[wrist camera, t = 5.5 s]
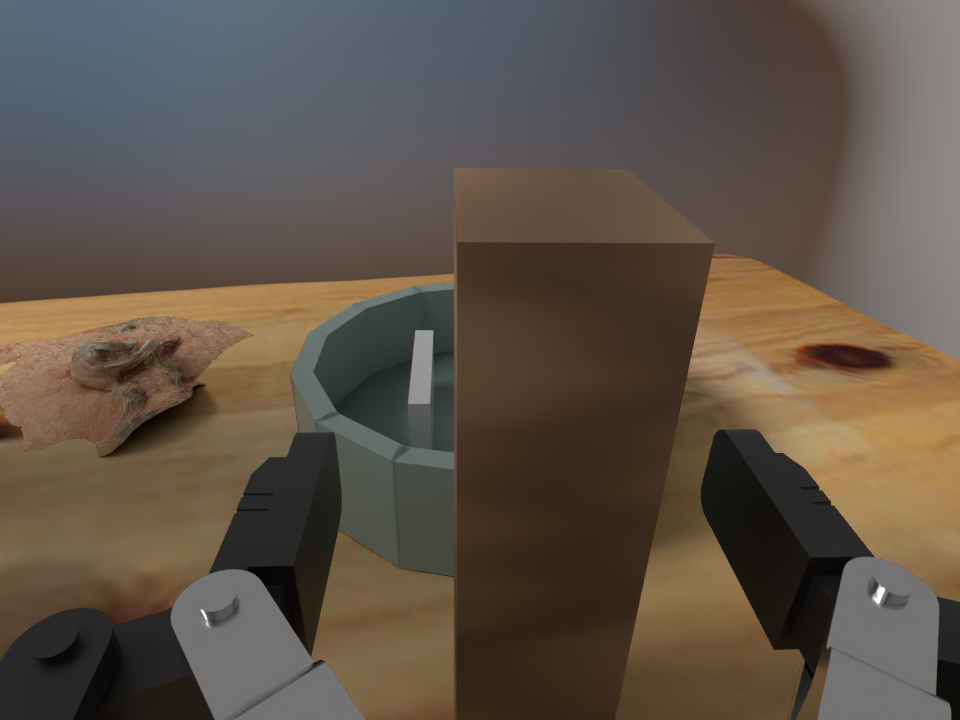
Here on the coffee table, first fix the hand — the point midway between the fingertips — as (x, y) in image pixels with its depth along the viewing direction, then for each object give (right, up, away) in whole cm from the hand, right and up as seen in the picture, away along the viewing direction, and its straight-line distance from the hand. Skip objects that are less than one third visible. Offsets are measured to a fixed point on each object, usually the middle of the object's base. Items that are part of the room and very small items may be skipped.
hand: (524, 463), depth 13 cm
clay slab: (-20, 0, +18) cm, 27 cm away
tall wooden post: (0, -8, +3) cm, 8 cm away
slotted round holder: (-1, -1, +14) cm, 14 cm away
